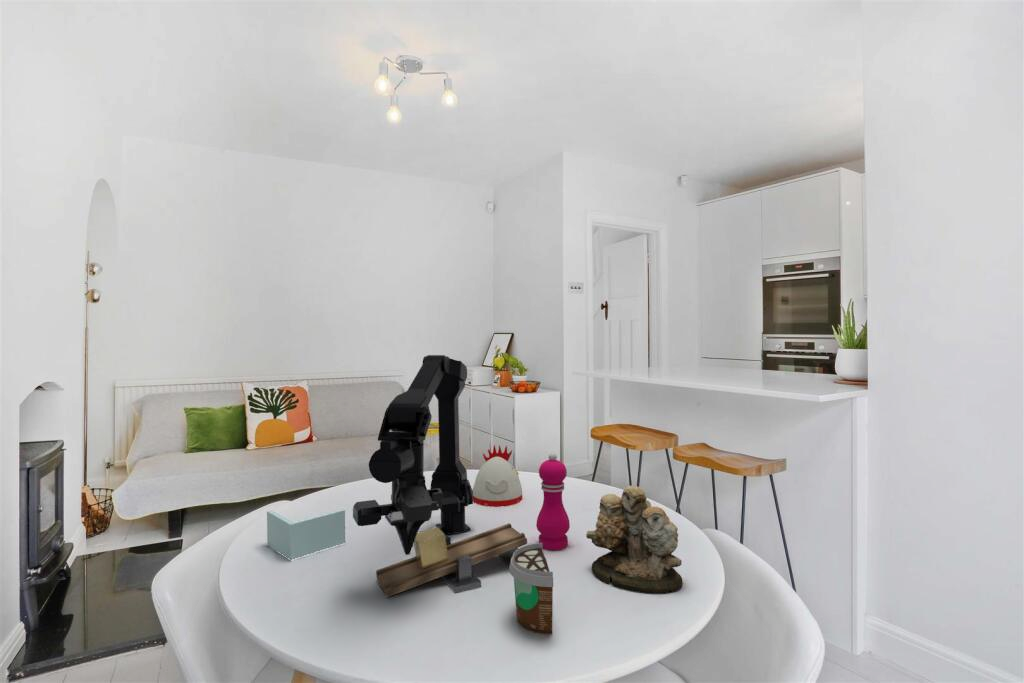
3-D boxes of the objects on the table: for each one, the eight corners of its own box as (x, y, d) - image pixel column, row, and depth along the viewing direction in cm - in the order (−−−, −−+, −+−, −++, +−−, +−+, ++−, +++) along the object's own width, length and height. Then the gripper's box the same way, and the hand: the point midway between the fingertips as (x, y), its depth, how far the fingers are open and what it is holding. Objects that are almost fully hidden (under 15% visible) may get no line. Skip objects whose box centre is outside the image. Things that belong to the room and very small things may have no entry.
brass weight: (423, 572, 97) (418, 543, 97) (416, 562, 101) (412, 535, 101) (449, 562, 99) (444, 534, 99) (441, 554, 103) (437, 526, 103)
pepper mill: (568, 552, 112) (567, 457, 111) (534, 550, 113) (533, 456, 113) (571, 539, 119) (570, 449, 118) (539, 537, 120) (538, 448, 120)
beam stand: (455, 592, 95) (454, 564, 95) (429, 560, 108) (428, 536, 108) (536, 573, 102) (536, 547, 102) (502, 545, 115) (502, 522, 115)
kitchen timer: (522, 506, 142) (521, 450, 141) (470, 507, 142) (469, 450, 141) (522, 491, 155) (521, 440, 155) (474, 491, 156) (474, 440, 155)
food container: (506, 600, 92) (506, 542, 92) (542, 599, 92) (541, 541, 92) (512, 642, 80) (512, 575, 79) (553, 639, 80) (553, 573, 80)
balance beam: (387, 597, 93) (385, 587, 93) (376, 578, 100) (375, 569, 100) (527, 543, 105) (526, 535, 105) (509, 530, 112) (508, 522, 112)
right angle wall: (345, 544, 117) (344, 510, 117) (291, 561, 109) (290, 524, 108) (319, 530, 125) (319, 498, 125) (267, 545, 117) (266, 511, 117)
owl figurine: (577, 581, 99) (576, 489, 99) (596, 557, 110) (596, 474, 110) (677, 601, 91) (676, 501, 91) (688, 573, 102) (687, 484, 102)
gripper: (364, 485, 87) (363, 581, 87) (471, 473, 95) (470, 561, 95) (352, 470, 97) (352, 556, 97) (450, 461, 105) (449, 540, 105)
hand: (407, 554), depth 98 cm, fingers closed
